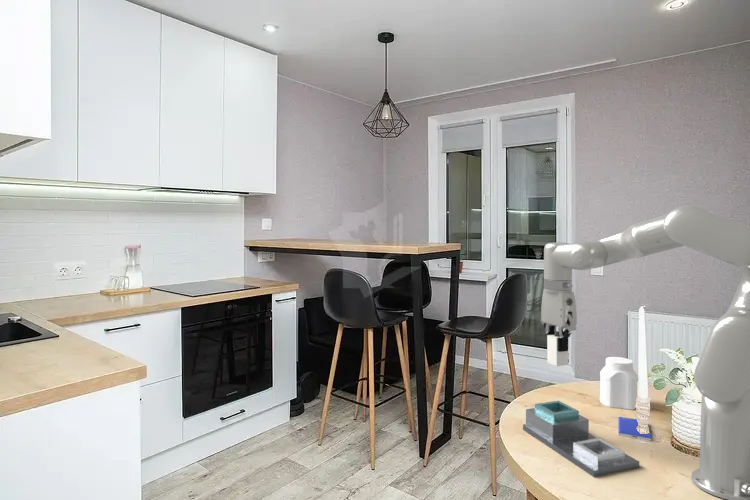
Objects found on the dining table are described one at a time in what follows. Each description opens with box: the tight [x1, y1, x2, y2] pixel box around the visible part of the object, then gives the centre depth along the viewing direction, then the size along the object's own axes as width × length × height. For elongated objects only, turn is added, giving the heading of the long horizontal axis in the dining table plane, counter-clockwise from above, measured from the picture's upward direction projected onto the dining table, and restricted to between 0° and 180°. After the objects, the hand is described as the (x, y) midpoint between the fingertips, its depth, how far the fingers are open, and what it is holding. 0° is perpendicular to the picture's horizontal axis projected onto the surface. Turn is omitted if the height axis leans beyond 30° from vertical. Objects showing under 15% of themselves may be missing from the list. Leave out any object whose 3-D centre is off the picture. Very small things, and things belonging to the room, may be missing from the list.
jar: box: [599, 356, 639, 411], centre depth 157 cm, size 12×10×15 cm
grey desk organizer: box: [522, 400, 640, 478], centre depth 127 cm, size 28×14×8 cm, turn 18°
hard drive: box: [617, 416, 652, 442], centre depth 137 cm, size 2×8×12 cm
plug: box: [546, 330, 569, 367], centre depth 133 cm, size 4×4×9 cm
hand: (557, 348), depth 133 cm, fingers closed on plug, 4 cm apart
